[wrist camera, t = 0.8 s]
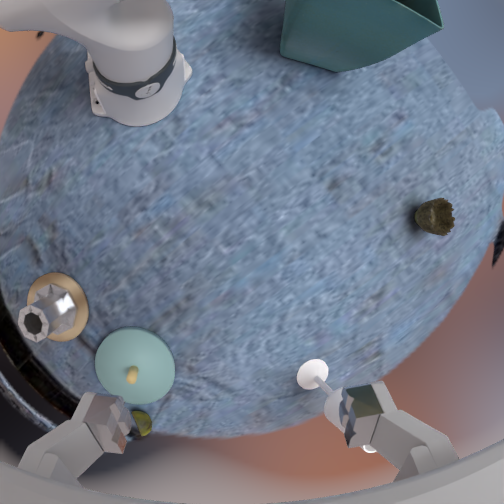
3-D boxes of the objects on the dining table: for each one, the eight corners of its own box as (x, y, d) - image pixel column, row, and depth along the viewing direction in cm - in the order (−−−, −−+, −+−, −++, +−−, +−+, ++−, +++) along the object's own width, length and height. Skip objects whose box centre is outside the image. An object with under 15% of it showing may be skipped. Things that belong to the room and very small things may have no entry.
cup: (431, 232, 64) (456, 233, 56) (407, 236, 62) (433, 237, 54) (428, 199, 63) (453, 196, 55) (404, 201, 61) (429, 198, 54)
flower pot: (268, -4, 52) (316, -95, 25) (353, 23, 57) (424, -45, 29) (257, 66, 53) (314, -32, 25) (352, 92, 58) (445, 31, 30)
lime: (144, 429, 53) (142, 444, 48) (124, 415, 52) (121, 429, 47) (158, 416, 53) (157, 430, 48) (138, 401, 52) (135, 415, 47)
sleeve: (28, 295, 46) (2, 308, 36) (63, 276, 47) (40, 286, 37) (49, 337, 47) (28, 357, 37) (85, 320, 48) (67, 339, 39)
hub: (84, 344, 50) (73, 358, 43) (150, 313, 52) (147, 324, 46) (124, 407, 52) (119, 426, 45) (188, 380, 54) (190, 397, 48)
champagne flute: (307, 354, 59) (375, 415, 35) (334, 365, 60) (405, 423, 37) (290, 383, 58) (347, 455, 35) (317, 393, 60) (379, 460, 37)
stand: (19, 289, 46) (17, 290, 45) (69, 260, 48) (67, 261, 47) (50, 348, 48) (47, 350, 47) (100, 324, 50) (99, 326, 49)
